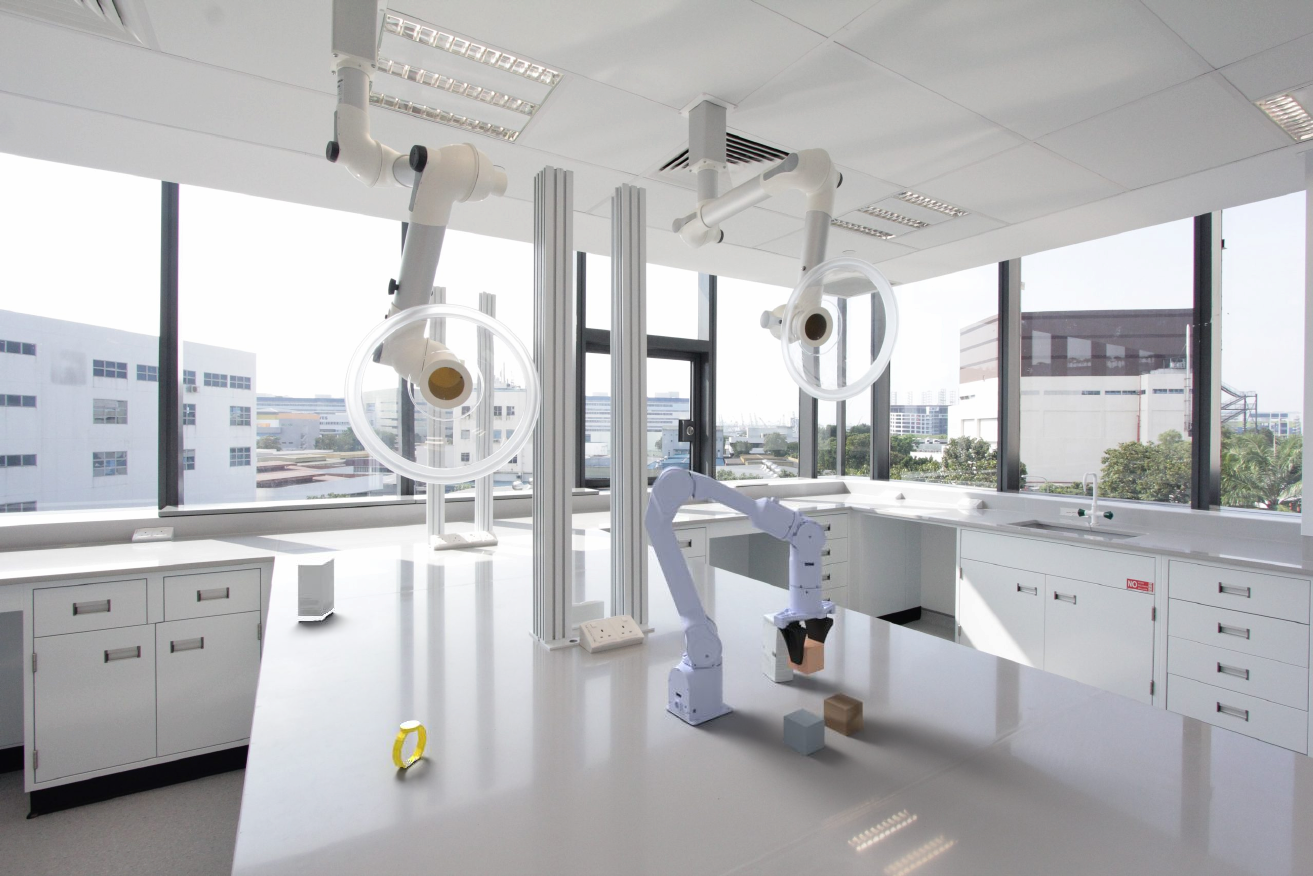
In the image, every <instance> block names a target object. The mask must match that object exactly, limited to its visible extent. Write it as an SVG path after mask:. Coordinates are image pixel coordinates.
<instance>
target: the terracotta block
mask: <svg viewBox="0 0 1313 876" xmlns="http://www.w3.org/2000/svg"><path fill="white" fill-rule="evenodd" d="M788 667H789V668H792V669H793V671H794V670H795V671H797V672H799V673H802V674H804V675H807V676H808V675H811V674H813V673H816V672H819V671H823V670H825V643H824V644H823V643H820V642H817V641H814V640H812V639H809V638H808V637H806V639H805V643H804V654H803V662H802V664H801V665H797V664H795V663H792V662H791V660H790V656H789V652H788Z"/></svg>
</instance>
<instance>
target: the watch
mask: <svg viewBox="0 0 1313 876" xmlns="http://www.w3.org/2000/svg"><path fill="white" fill-rule="evenodd" d="M414 732H417V738H418V739H417V743H416V746H415V747H416V748H415V750H414V751H413V754H412V756H410V758H408V759H407V760H408V761H409V760H410V762H411V760H412V762H413V761H414V760H415V758H416V759H417V758H419V757H422V756H423V753H424V752H425V749H426V745H427V744H426V743H427V739H428V738H427V730H426V729H425V727H424V725H422V724H420V721H418V720H408V721H405V722H402V723H401V724H400V725H399V733H398V734H397V736H396V738H395V740H394V744H393V746H392V755H391V756H392V761H393V763H394V766H395V767H398V768H400V767H403V768H402V769H405V767H407V765H404V764H403V763H404V762H403V759H402V749H403V745H404V742H405V740H406V738H407V737H408V735H409V734H411V733H414ZM413 755H414V756H415V757H414V756H413ZM421 755H422V756H421ZM410 762H409V763H410ZM412 762H411V763H412ZM407 763H408V762H407Z"/></svg>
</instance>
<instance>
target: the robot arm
mask: <svg viewBox="0 0 1313 876" xmlns="http://www.w3.org/2000/svg"><path fill="white" fill-rule="evenodd" d="M689 473H690V474H689ZM650 490H651V491H650V494H649V498H648V501H647V502H648V503H647V507H646V512H645V515H644V519H643V521H644V522H643V523H644V527H645V529H646V532H647V535H648V537H649V541H650V542H651V545H652V547H653V548H652V549H654V552H655V555H656V558H657V561H658V564H659V566H660V568H661V571H662V573H663V576H664V578H665V582H666V584H667V587H668V589H669V592H670V595H671V597H672V600H673V602H674V606H675V607H676V608H675V609H676V610H677V612H678V616H679V620H680V623H681V626H682V630H683V636H684V640H685V651H684V653H683V654H682V659H681V661H680V662H679V663H678V664H677V665H676V666H674V667H672V668H671V669H670V671H669V674H668V678H667V679H668V681H667V682H668V690H667V691H668V704H667V705H665V710H667V711H668V712H670V713H672V714H673V715H675V716H677V717H679V718H680V719H682V720H683V721H685V722H686V723H688V724H690V725H691V726H696V725H699V724H701V723H704V722H707V721H709V720H712V719H714V718H717V717H720V716H724V715H726V714H728V713H731V712H733V711H734V707H732V706H731V705H729V704H727V703H726V702H724V699H723V698H724V697H723V694H724V692H723V691H724V690H723V685H724V684H723V681H724V680H723V655H722V654H723V643H722V640H721V639H720V637H719V632H718V627H717V624H716V623H715V622H714V620H713V619H712V618H711V617H709V615H708V614H707V612H706V609H705V607H704V604H703V603H702V601H701V598H700V595H699V593H698V590H697V587H696V586H695V581H694V580H693V577H692V574H691V573H690V569H689V567H688V564H687V561H686V559H685V557H684V556H685V555H684V553H683V551H682V549H681V546H680V542H679V540H678V538H677V536H676V533H675V531H674V527H673V524H672V523H673V521H674V519H675V517H676V515H677V513H678V510H679V509H680V508H681V507H682V506H683V505H684V504H686V503H687V501H689V499H690V498H691V497H692V499H693V501H701V500H702V501H703V500H712V501H714V502H716V503H719V504H720V505H723V506H725V507H728V508H729V509H732V510H734V511H737V512H739V513H741V514H743V515H746V516H748V518H749V522H750V524H751V527H753V528H756V529H758V530H760V531H762V532H764V533H767V534H768V535H770V536H772V537H775V538H777V539H778V540H780V541H783V542H785V541H787V542H789V564H788V565H789V568H788V569H789V570H788V571H789V581H788V582H789V589H788V590H789V592H788V594H789V601H788V602H789V603H788V607H786V608H784V609H783V610H782V611H780V612H777V613H778V614H775V615H774V626H776V627H778V628H779V630H780V631H781V633H782V635H783V637H784V640H785V642H786V645H787V648H788V652H789V656H790V660H791V662H792V663H795V664H797V665H801V664H802V662H803V654H804V643H805V639H806V638H809V639H812V640H814V641H817V642H820V643H823V644H824V645H825V642H826V640H827V636H828V634H829V632H830V631H831V629H832V627H833V626H834V618H832V617H829V616H828V615H834V614H835V615H836V613H837V611H836V608H837V607H836V605H837V604H836V603H835V602H832V601H828V600H825V601H823V558H822V549H823V548H824V547H825V545H826V543H827V539H828V537H827V536H826V534H825V530H824V528H823V527H822V525H821V524H820V523H819V522H817V521H815V520H814V519H812V518H810V517H809V516H807V514H804V512H803V511H801V510H799V509H797V510H796V511H795V510H793V509H792V508H789V507H787V506H786V505H783V504H781V503H780V499H778V498H776V497H774V496H771V498H768V497H767V496H765V497H762V498H759V499H753V498H752V497H749V496H747V495H745V494H743V493H742V492H739V490H736V489H733V488H732V487H730V486H728V485H727V484H724V483H722V482H720V481H718V480H716V479H714V478H713V477H710V476H709V475H706V474H702V473H700V472H696V471H692V470H688V471H687V470H686V469H685V468H684V467H682V466H680V465H679V466H678V465H669V466H666V467H665V468H663V469H662V470H661V471H660V472H659V474H658V476H657V477H656V479H654V482H653V483H652V487H651V489H650ZM801 622H804V625H805V627H804V626H802V624H801Z"/></svg>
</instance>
